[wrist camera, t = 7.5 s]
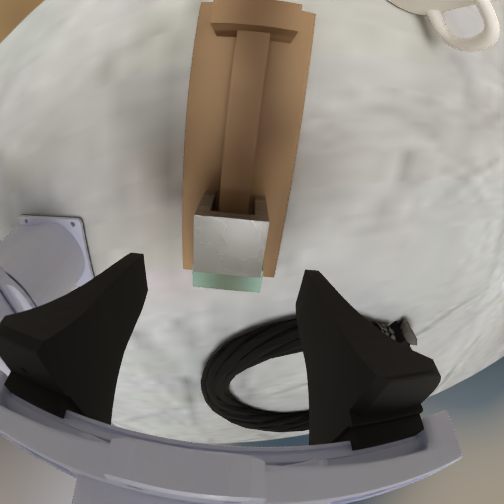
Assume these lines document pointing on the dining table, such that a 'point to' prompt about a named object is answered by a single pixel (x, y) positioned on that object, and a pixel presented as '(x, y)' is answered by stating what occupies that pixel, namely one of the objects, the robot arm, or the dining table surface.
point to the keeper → (230, 238)
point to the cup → (432, 4)
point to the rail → (244, 118)
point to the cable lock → (259, 350)
